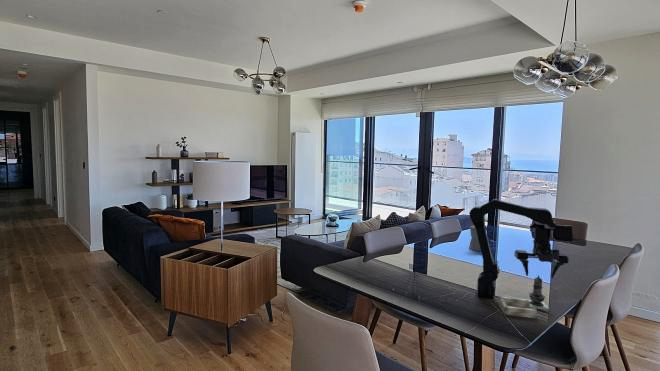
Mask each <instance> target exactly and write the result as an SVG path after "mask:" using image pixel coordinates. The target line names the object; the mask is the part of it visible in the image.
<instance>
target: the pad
mask: <svg viewBox="0 0 660 371" xmlns="http://www.w3.org/2000/svg"><path fill="white" fill-rule="evenodd" d="M528 300H529V301H532V300H531V299H528ZM541 303H542V304H543V305H544V306H534V305H531V304H530V309H532V308H535V309H538V310H539V309H540V310H549V309H550V308H549V306H548V305H546V303H545V302H544V301H542V302H541Z"/></svg>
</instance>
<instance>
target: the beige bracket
mask: <svg viewBox="0 0 660 371" xmlns="http://www.w3.org/2000/svg"><path fill="white" fill-rule="evenodd" d="M529 300H530V299H526V298H517V297H516V298H515V297H508V296H498V301H497V302H498V304H497V305H498V306H499V308H500V309H501V311H502V313H503V315H507V316H514V317H521V318H522V317H523V318H529V319H530V318H532V319H537V317H538V316H537V315H538V310H537V308H530V301H529Z"/></svg>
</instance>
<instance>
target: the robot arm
mask: <svg viewBox="0 0 660 371" xmlns="http://www.w3.org/2000/svg"><path fill="white" fill-rule="evenodd" d="M495 210H498V211H503V212H506V213H510V214H514V215H518V216H522V217H525V218H527V219H530V220H532V221H533V222H532V223H531V224H529V228H530V229H534V232H533V233H534V234H533V240H532V242H533V245H532V246H533V249H532V252H528V251H526V250H523V249H515V251H514V257H515V259H516V260H519V261H520V262H521V264H522V267H523V270H524V272H525V275H526V277H528V276H529V262H530V261H529V260H528V259H538V261H539V262H541V263H543V262H545V263H546V262H547V263H551V267H550V279H553V278H554V276H555V275H556V272H557V271H558V269H559V268H560V267H562V266H564V265H565V264H569V262H570V259H569V256H567V255H566V254H564V253H563V252H561V253H560V250H559V249H552V248H551V247H552V245H551V239H554V242H561V243H573V237H574V234H573V226H572V225H570V224H566V225H565V224H557V223H556V222H555V220H553V214H552V212H551V211H550V210H549V209H547V208H541V207H528V206H523V205H519V204H515V203H512V202H507V201H503V200H500V199H497V198H493V199H492V200H490V201H488V202H486V203H484V204H482V205H481V206H479V205H477V206H474V207H472V208H471V209H470V211H469V214H468V215H469V218H470V220H471V223H472V226H475V228H476V232H477V236H478V240H479V245H480V249H481V251H480V253H481V257H482V272H480V273H479V275H478V277H477V280H476V281H477V282H476V291H475V294H476V296H477V297H476V298H483V299H492V300H493V299H495V298H494V297H495V289H496V288H495V285H494V282H495V281H496V280H498V277H499V274H500V271H501V269H500V267H499V260H496V261H495V260H494V258H493V255H492V252H491V251H492V250H491V246H490V242H489V238H488V233H487V231H486V229H485V226H486V215H487V214H489V213H491V212H493V211H495ZM536 222H537V223H536Z"/></svg>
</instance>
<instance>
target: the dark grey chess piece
mask: <svg viewBox="0 0 660 371" xmlns="http://www.w3.org/2000/svg"><path fill="white" fill-rule="evenodd" d="M532 287H533V289H532V290H533V291H532V292H530V293H529V294H528V295H529V300H532V301H530V304H531V305H534V306H544V305H543V304H542V303H541V302H544V300H545V298H546V296H545V295H544V294H543V293H542V290H543V279H542V278H541V277H540V275H537V277H535V278H534V281H533V285H532Z"/></svg>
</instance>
